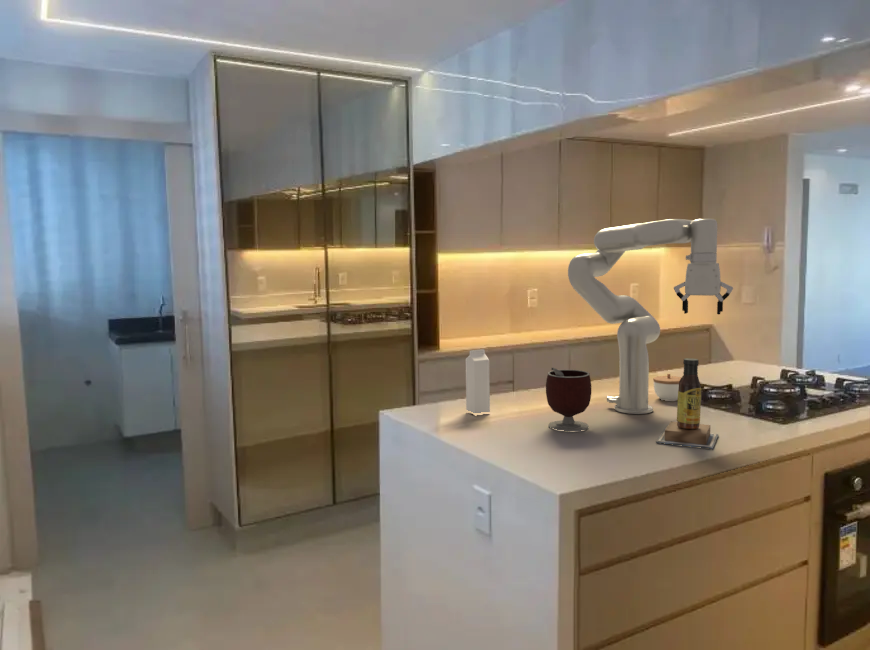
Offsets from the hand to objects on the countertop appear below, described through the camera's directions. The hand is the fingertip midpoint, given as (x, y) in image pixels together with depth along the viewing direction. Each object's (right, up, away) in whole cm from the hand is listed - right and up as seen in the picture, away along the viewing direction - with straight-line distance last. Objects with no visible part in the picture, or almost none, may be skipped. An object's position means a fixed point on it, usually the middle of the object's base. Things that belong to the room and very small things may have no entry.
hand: (702, 313), depth 213 cm
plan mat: (-11, -37, -18) cm, 42 cm away
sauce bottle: (-11, -33, -18) cm, 39 cm away
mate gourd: (-43, -36, -1) cm, 56 cm away
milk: (-69, -34, +19) cm, 79 cm away
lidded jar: (+1, -31, +35) cm, 47 cm away
